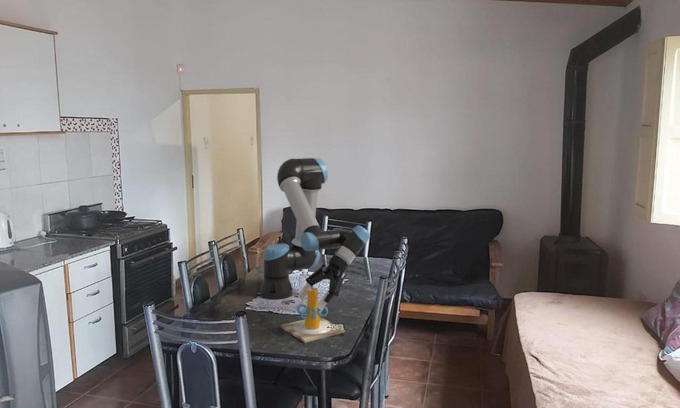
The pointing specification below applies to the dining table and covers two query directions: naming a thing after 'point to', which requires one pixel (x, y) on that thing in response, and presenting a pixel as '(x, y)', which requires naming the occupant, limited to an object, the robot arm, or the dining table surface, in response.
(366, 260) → the dining table surface
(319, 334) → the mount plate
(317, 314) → the orange post with rings
